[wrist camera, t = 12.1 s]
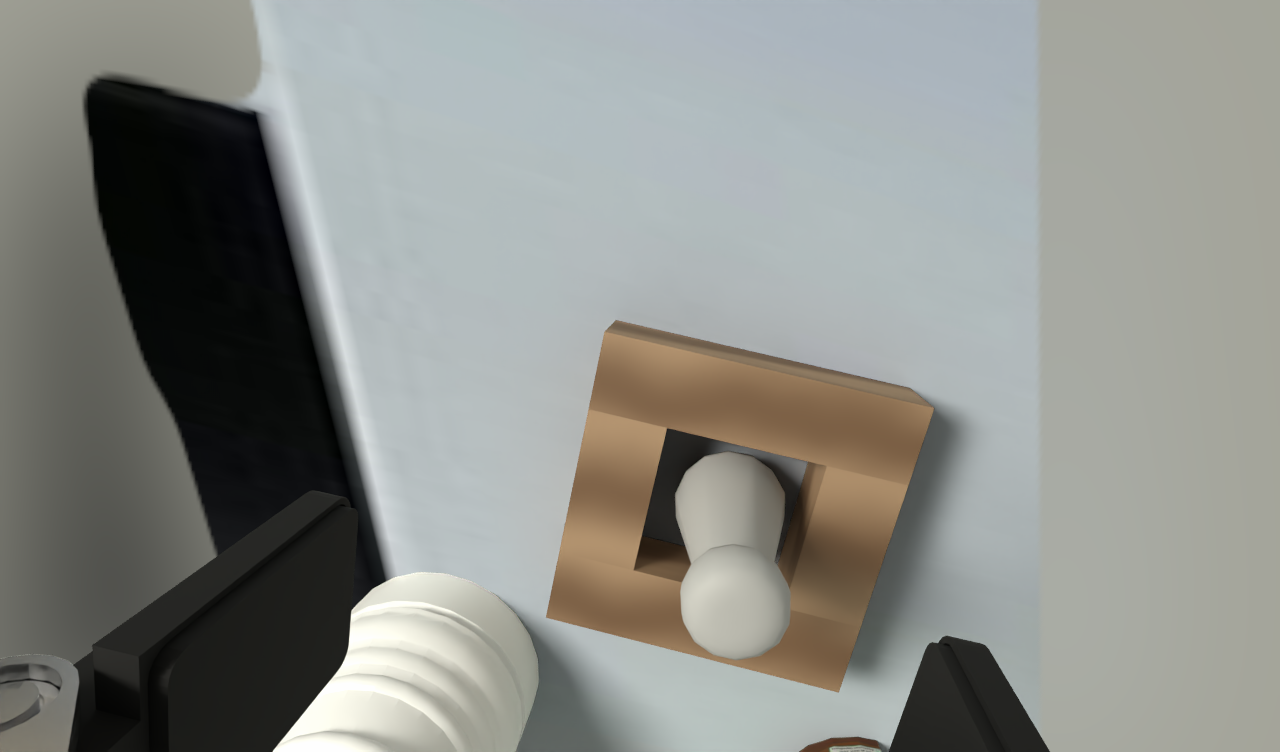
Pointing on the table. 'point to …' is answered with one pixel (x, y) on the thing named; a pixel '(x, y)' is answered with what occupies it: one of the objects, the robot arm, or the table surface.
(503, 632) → the honey pot
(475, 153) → the table surface
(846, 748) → the food container
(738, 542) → the salt shaker
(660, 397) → the brown wooden square frame
